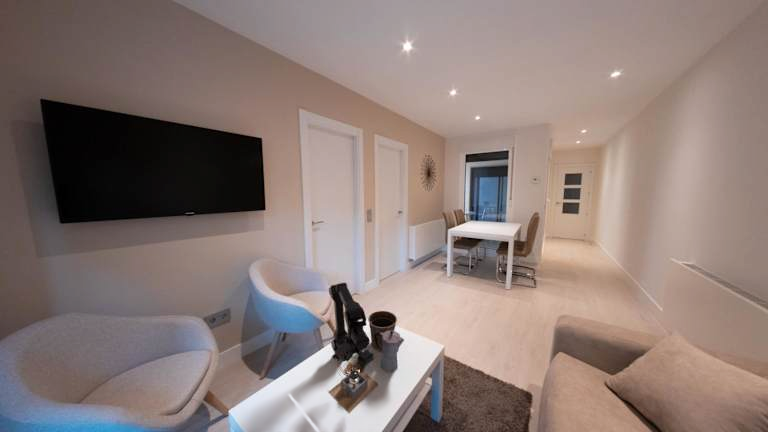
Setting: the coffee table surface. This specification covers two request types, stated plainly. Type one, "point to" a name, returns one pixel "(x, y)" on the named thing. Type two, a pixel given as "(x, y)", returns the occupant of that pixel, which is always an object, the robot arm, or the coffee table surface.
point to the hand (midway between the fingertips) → (354, 366)
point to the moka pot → (389, 349)
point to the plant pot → (381, 326)
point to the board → (346, 400)
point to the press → (356, 392)
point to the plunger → (354, 380)
